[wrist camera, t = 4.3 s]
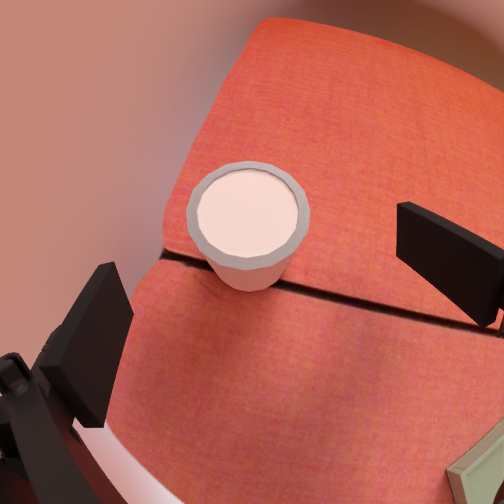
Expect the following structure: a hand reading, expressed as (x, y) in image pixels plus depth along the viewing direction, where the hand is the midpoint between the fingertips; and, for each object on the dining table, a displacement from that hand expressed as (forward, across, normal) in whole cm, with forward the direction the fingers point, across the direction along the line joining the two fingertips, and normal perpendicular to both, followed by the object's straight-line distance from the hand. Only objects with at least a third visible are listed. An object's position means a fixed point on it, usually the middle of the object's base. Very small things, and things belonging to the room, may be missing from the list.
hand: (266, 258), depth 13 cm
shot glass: (+9, 0, -4) cm, 10 cm away
